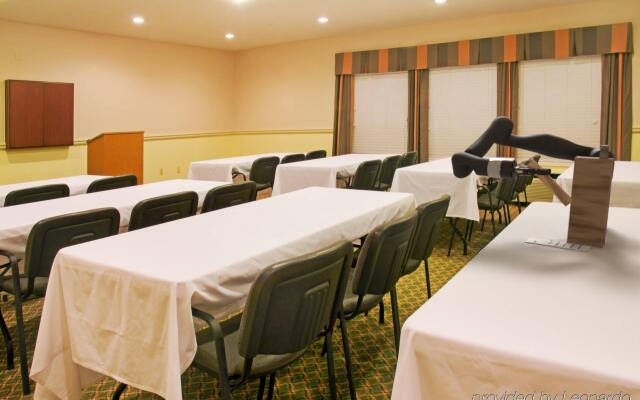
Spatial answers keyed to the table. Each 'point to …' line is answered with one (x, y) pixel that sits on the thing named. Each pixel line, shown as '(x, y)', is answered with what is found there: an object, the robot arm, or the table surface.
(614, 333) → the table surface
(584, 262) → the table surface
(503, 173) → the robot arm
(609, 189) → the brown piece
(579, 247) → the letter
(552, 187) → the block
